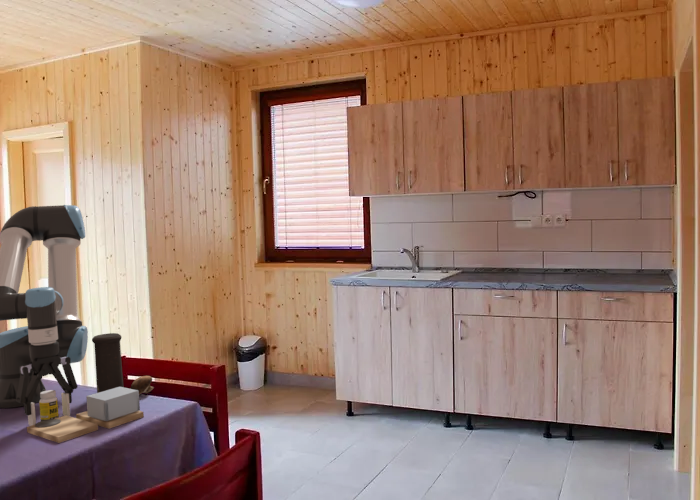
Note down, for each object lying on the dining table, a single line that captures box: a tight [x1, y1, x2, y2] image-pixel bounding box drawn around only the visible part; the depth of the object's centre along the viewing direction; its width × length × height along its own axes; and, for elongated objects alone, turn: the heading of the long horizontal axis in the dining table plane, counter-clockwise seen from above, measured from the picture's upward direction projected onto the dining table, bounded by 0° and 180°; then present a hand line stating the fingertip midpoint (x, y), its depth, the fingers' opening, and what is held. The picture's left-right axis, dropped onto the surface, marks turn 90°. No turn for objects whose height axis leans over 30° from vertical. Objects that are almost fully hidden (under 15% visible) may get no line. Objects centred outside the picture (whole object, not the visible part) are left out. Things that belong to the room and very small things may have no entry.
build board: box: [26, 415, 99, 444], centre depth 170 cm, size 17×11×2 cm, turn 54°
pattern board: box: [75, 410, 145, 430], centre depth 179 cm, size 16×11×4 cm
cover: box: [86, 387, 141, 421], centre depth 177 cm, size 9×11×6 cm
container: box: [91, 332, 125, 393], centre depth 202 cm, size 9×9×20 cm
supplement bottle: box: [38, 389, 60, 421], centre depth 179 cm, size 5×5×8 cm
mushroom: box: [130, 375, 155, 396], centre depth 202 cm, size 8×8×6 cm
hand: (49, 420), depth 179 cm, fingers open, 9 cm apart
